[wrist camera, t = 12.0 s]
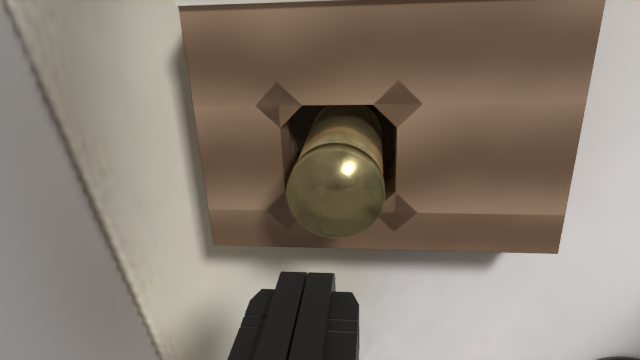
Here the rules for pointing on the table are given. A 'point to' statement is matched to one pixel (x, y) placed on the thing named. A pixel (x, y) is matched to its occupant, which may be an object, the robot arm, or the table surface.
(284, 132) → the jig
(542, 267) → the table surface
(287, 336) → the robot arm
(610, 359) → the supplement bottle
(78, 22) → the table surface
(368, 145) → the brass cylinder plug
